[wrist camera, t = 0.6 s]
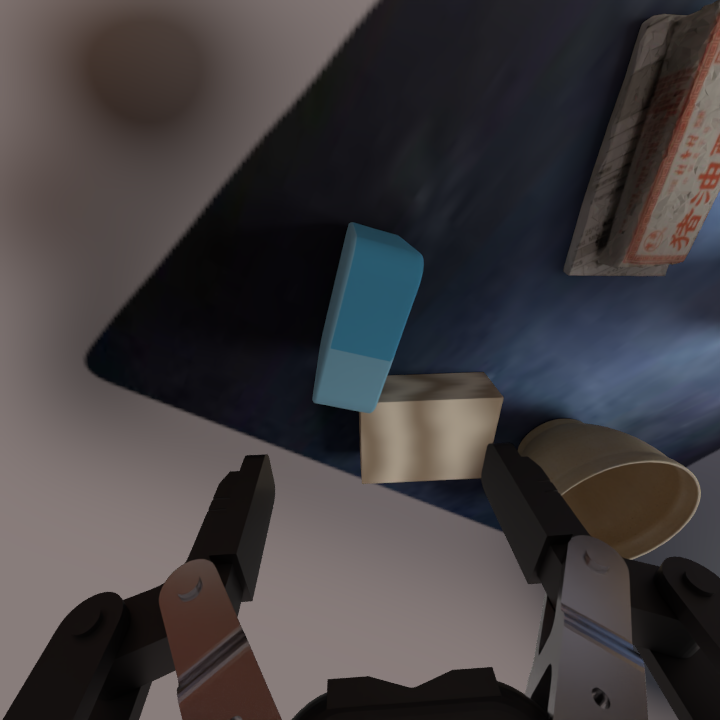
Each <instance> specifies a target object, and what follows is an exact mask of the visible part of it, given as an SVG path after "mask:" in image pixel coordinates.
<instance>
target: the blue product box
mask: <svg viewBox="0 0 720 720" xmlns="http://www.w3.org/2000/svg"><path fill="white" fill-rule="evenodd" d="M423 267H424V260H423V256H422V255H421V254H420V253H419V252H418V251H417V250H416V249H414V248H413V247H412V246H411V245H409V244H408V243H407V242H406V241H405V240H403V239H402V238H401V237H400V236H398V235H395V234H391V233H388V232H384V231H381V230H378V229H374V228H371V227H367V226H364V225H360V224H357V223H353V222H351V223H349V225H348V228H347V232H346V236H345V240H344V244H343V249H342V253H341V257H340V261H339V266H338V270H337V274H336V278H335V283H334V287H333V291H332V295H331V300H330V304H329V308H328V312H327V317H326V321H325V325H324V330H323V334H322V339H321V344H320V350H319V357H318V364H317V371H316V377H315V384H314V391H313V398H312V399H313V402H314V403H317V404H323V405H328V406H333V407H338V408H343V409H349V410H354V411H359V412H364V413H372V412H373V411H374V410H375V408H376V406H377V403H378V400H379V398H380V395H381V392H382V389H383V386H384V384H385V381H386V378H387V375H388V372H389V369H390V367H391V364H392V361H393V358H394V355H395V353H396V350H397V347H398V344H399V341H400V339H401V336H402V333H403V330H404V327H405V325H406V322H407V319H408V316H409V313H410V310H411V308H412V305H413V302H414V299H415V296H416V294H417V291H418V288H419V285H420V282H421V278H422V274H423Z"/></svg>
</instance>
